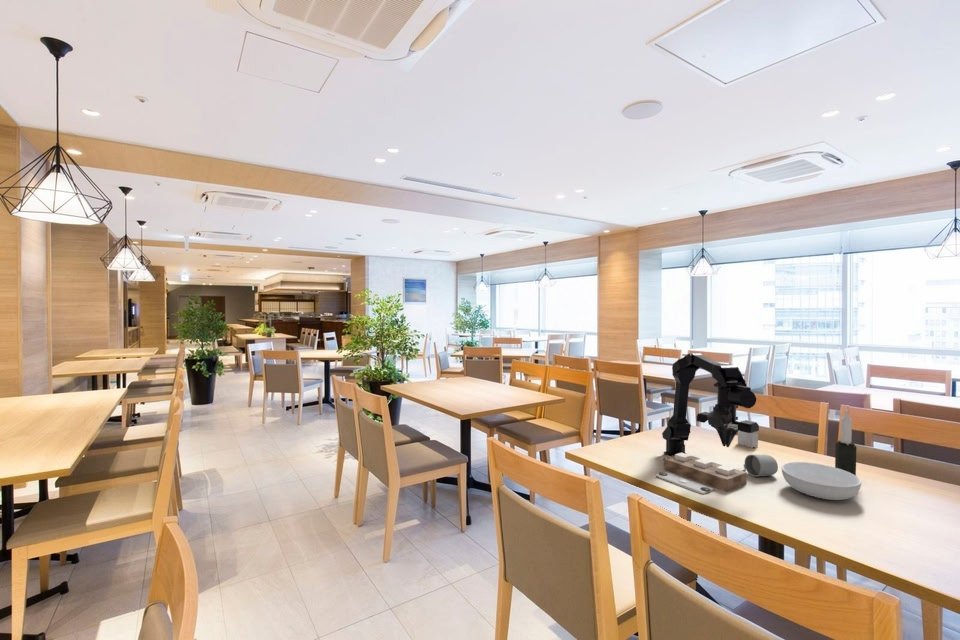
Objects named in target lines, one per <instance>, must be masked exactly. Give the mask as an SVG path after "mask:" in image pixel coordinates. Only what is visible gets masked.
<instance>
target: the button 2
mask: <svg viewBox="0 0 960 640" xmlns="http://www.w3.org/2000/svg"><path fill="white" fill-rule="evenodd" d="M721 465H722V466H719V467H717V472H718V473H721V474H724V475H727V476H730V475H733V474H734V473H735V469H736V468H734V467H731V466H727V465H724V464H721Z"/></svg>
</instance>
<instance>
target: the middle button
mask: <svg viewBox="0 0 960 640" xmlns="http://www.w3.org/2000/svg"><path fill="white" fill-rule="evenodd" d="M712 462H713V461H711V460H708V459H703V458H701V459H698V460H695V465H696V466H699V467H702V468H705V469H707V468H710V467H712Z"/></svg>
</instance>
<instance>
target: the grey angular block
mask: <svg viewBox="0 0 960 640" xmlns="http://www.w3.org/2000/svg"><path fill="white" fill-rule="evenodd" d="M737 444H738V445H740V446H744V445H745V446H744V447H747V446H749V447H748V448H750V447H751V449H754V448H753V447H755V448H758V447H759V431H756V432H753V433H746V432H742V431H740V430H739V431H738V432H737Z"/></svg>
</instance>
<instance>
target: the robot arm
mask: <svg viewBox="0 0 960 640" xmlns="http://www.w3.org/2000/svg"><path fill="white" fill-rule="evenodd" d="M671 367H672V369H671V370H672V377H673V379H674V380H675V388H674V389H675V390H674V391H675V392H674V398H673V399H674V400H673V401H674V402H673V409H672V410H673V412H672V415H671V416H670V418H669V419H668V421H667V425H666V428H665V429H664V430H663V432H662V433H661V434H662V435H661V436H662V439H664V440H665V441H666V442H665V451H663V454H666V455H669V456H670V457H671V456H675V454H678V453H685V454H687V453H686V444H685V441H688V440H689V437H690V434H691V427H692V425H691V423H690V422H689V420H688V419H687V411H688V403H689V402H688V401H689V393H690V384H691V383H692V382H693V380H694V379H695V377H696V373H697V371H699V369H702V370H704V371H706V372H708V373H709V374H711V377H712V378H713V379H714V380H715V381H716V382H715V383H713V387H715V388H717V392H716V393H717V398H716V399H717V401H716V402H717V403H715V404H714V408H713V410H712V411H710V412H708V411H703V412H699V413H697V414H696V422H699V423H703V424H704V423H706V422H708V425H709V426H711V427H712V428H714V429H715V430H716V431H717V434H718V437H719V439H720V442H721V444H722V446H723V447H726V448H729V447H730V446H731V443H732V442H733V440H734V438H735V436H736V435H737V434H738V431H739V430H740V431H742V432H746V433H753V432H756V431H758V432H759V431H760V425H759V423H757V422H756V421H752V420H748V419H745V420H741V421H738V420H739V416H737V409H739V407H742V408H745V409H751V408H753V407H754V406H755V405H756V403H757V397H756V395H755V393H754V392H753V391H752V390H751V386H747V383H746V380H745V378H744V376H743V374H742V372H741V370H740V368H739V366H737V365H734V364H730V363H729V364H728V363H721V362H718V361H716V360H714V359H712V358H710V357H708V356H705V355H704V354H702V353H700V352H690V353H688V354H686V355H685V356H683V357H681V358H680V359H677V360H676V361H675V362H673V364H672V366H671Z"/></svg>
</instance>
